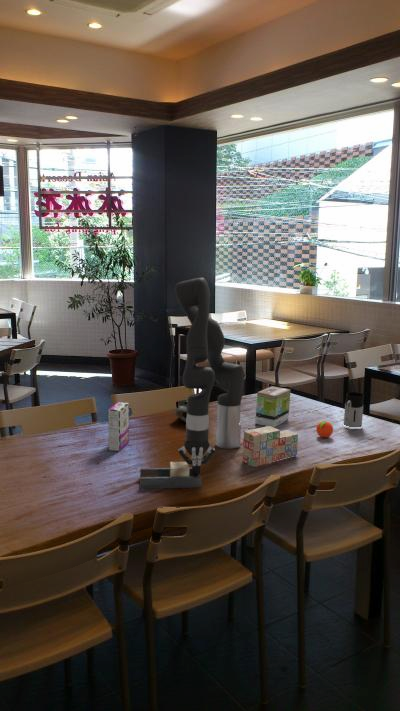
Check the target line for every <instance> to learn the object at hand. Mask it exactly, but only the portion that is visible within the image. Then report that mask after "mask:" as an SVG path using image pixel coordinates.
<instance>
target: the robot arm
mask: <svg viewBox="0 0 400 711" xmlns="http://www.w3.org/2000/svg"><path fill="white" fill-rule="evenodd" d="M209 286H210V285H209V283H208V282H207V280H206V279H205V278H204V277H197V278H192V279H187V280H183V281H180V282H178V283H176V285H175V288H174V291H175V297H176V299H177V301H178V303H179V306H180V308H181V309H182V311H183V312H184V314H185V315H186V318H187V319H188V320H189V323H190V324H191V325H190V327H189V329H188V331H187V335H186V342H185V343H186V360H185V367H184V371H183V374H182V378H181V379H182V384H183V386H184V387H185V388H186V389H189V390H194V389H195V390H196V389H197V390H198V389H200V390H201V389H202V390H201V391H200V392H198V393H195V394H191V395H189V396H188V397H187V418H186V422H185V423H186V424H185V441H184V444H183V446H182V447H179V448H178V450H177V451H178V454H179V455H180V456H181V457H182V459H183V460H184V462H187V464H189V465H191V468H192V474H193V475H194V476H200V475H201V470H202V465H206V464H208V462H209V461H210V459H212V457H213V456H214V454H216V449H215V447H213V446H211V444H210V442H209V435H210V434H209V431H210V429H209V427H210V419H209V417H210V416H209V409H210V408H209V407H210V406H209V405H210V396H211V394H212V390H213V387H214V384H215V382H216V384H218V385H220V386H221V387H228V392H227V393H222V394H221V393H220V395H218V396H217V400H216V401H217V403H216V407H217V408H216V432H215V434H216V435H215V445H216V447H218V448H221V449H226V450H227V449H229V450H232V449H236V448H241V434H242V424H241V409H242V408H241V406H242V399H243V392H244V383H245V370H244V367H243V366H242V365H240V364H237V363H230V362H226V361H225V359H224V358H223V356H222V353H223V350H224V347H225V343H226V342H225V341H226V340H225V339H226V338H225V335H224V333H223V331H222V328H221V326H220V324H219V323H218V322H217V321H216V320H214V319H213V318H212V317H210V316H209V314H210V303H211V300H210V299H211V292H210V287H209ZM197 306H198V307H197ZM206 361H207V362H208V364H209V367H208V366H195V365H197V364H201V363H204V362H206ZM186 452H187V453H189V455H190V456H191V459H190V457H189V456H188V455H187V454H186ZM205 453H206V454H205ZM203 456H204V457H203Z"/></svg>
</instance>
